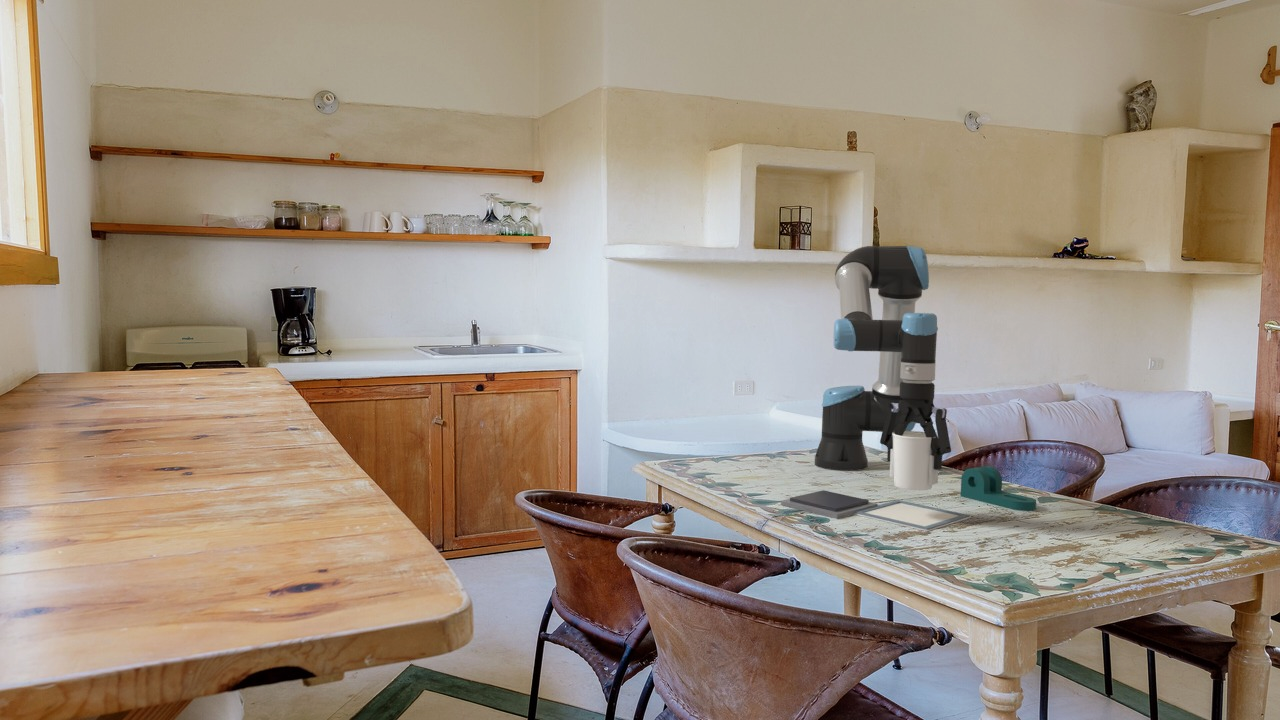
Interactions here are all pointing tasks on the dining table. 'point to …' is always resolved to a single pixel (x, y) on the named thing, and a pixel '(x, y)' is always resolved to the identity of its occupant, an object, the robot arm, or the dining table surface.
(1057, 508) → the dining table surface
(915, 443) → the candle holder
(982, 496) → the bracket
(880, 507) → the marked square
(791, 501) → the ink pad
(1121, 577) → the dining table surface
